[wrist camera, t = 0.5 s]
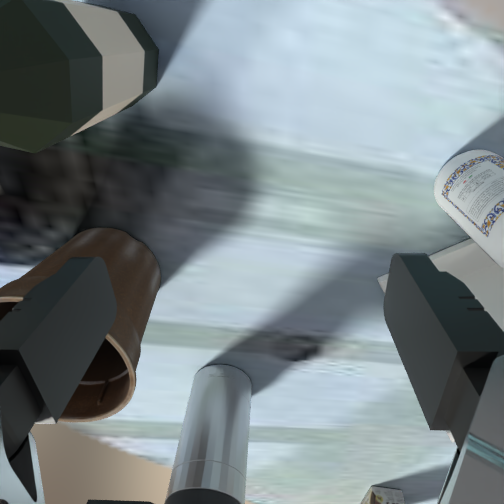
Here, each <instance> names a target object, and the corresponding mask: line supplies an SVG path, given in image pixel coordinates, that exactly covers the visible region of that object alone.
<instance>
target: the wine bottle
mask: <svg viewBox="0 0 504 504" xmlns="http://www.w3.org/2000/svg"><path fill="white" fill-rule="evenodd" d="M158 54H159V49H158V48H157V46H156V45H155V43H154V42H153V40H152V39H151V37H150V36H149V34H148V33H147V31H146V30H145V28H144V27H143V25H142V24H141V22H140V21H139V19H138V18H137V16H136V15H135V14H131V13H127V12H123V11H119V10H115V9H111V8H107V7H103V6H99V5H94V4H89V3H83V2H78V1H72V0H0V146H5V147H9V148H14V149H18V150H23V151H27V152H32V153H37V152H39V151H41V150H43V149H45V148H47V147H49V146H51V145H53V144H55V143H57V142H59V141H61V140H64V139H66V138H68V137H70V136H72V135H74V134H76V133H78V132H80V131H82V130H84V129H86V128H88V127H90V126H92V125H94V124H96V123H98V122H100V121H102V120H104V119H107V118H109V117H111V116H113V115H115V114H117V113H119V112H121V111H123V110H125V109H127V108H129V107H131V106H133V105H134V104H135V103H137V102H138V101H139V100H140V99H142V98H143V97H144V96H145V95H147V94H148V93H149V92H151V91H152V90H153V89H154V88H156V83H157V69H158Z"/></svg>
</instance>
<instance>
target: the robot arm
mask: <svg viewBox="0 0 504 504" xmlns="http://www.w3.org/2000/svg"><path fill="white" fill-rule="evenodd" d="M116 313H117V303H116V298H115V295H114V291H113V288H112V284H111V281H110V278H109V274H108V271H107V267H106V264H105V262H104V260H103V259H102V258H101V257H72V258H70V259H69V260H68V261H67V262H66V263H65V264H64V265H63V266H62V267H61V268H60V269H59V270H58V271H57V272H56V273H55V274H54V275H51V276H50V277H48V278H47V279H45V280H43V281H42V282H40V283H38V284H37V285H35V286H34V287H33V288H32V289H31V290H30V291H29V292H28V293H27V294H26V295H25V296H24V297H23V300H22V301H19V302H18V303H17V304H16V305H15V306H14V307H13V308H12V312H8V313H7V315H6V316H5V317H4V318H3V319H2V320H1V321H0V504H45V501H44V494H43V488H42V481H41V475H40V469H39V463H38V457H37V450H36V443H35V439H34V437H33V435H32V433H31V432H30V430H31V428H32V427H33V425H34V424H35V423H37V424H56V423H57V421H58V420H59V418H60V416H61V414H62V413H63V411H64V409H65V407H66V406H67V404H68V402H69V400H70V399H71V397H72V395H73V393H74V392H75V390H76V388H77V386H78V385H79V383H80V381H81V379H82V378H83V376H84V374H85V372H86V371H87V369H88V367H89V365H90V364H91V362H92V360H93V358H94V357H95V355H96V353H97V351H98V350H99V348H100V346H101V344H102V343H103V341H104V339H105V337H106V335H107V334H108V332H109V330H110V328H111V327H112V325H113V323H114V321H115V318H116ZM384 316H385V320H386V323H387V326H388V328H389V331H390V333H391V336H392V338H393V340H394V343H395V345H396V348H397V350H398V353H399V355H400V357H401V360H402V362H403V365H404V367H405V370H406V372H407V374H408V377H409V379H410V382H411V384H412V387H413V389H414V391H415V394H416V396H417V399H418V401H419V404H420V406H421V408H422V411H423V413H424V416H425V418H426V421H427V423H428V425H429V428H430V430H450V432H451V434H452V436H453V438H454V440H455V442H456V445H457V449H456V451H455V454H454V457H453V459H452V462H451V465H450V468H449V471H448V474H447V476H446V479H445V482H444V485H443V488H442V491H441V493H440V496H439V499H438V502H437V504H504V332H503V330H502V329H501V328H500V327H499V325H498V324H497V323H496V322H495V321H494V319H493V318H492V317H491V316H490V314H489V313H488V312H487V311H484V307H483V306H482V304H481V303H480V302H479V301H478V299H475V296H474V295H473V293H472V292H471V291H470V290H469V288H468V287H467V286H466V285H465V283H463V282H462V281H460V280H459V279H457V278H456V277H454V276H453V275H451V274H450V273H448V272H447V271H439V270H438V269H437V268H436V266H435V265H434V264H433V262H432V261H431V260H430V258H429V257H428V256H427V254H425V253H396V254H394V255H393V257H392V260H391V264H390V270H389V275H388V281H387V286H386V292H385V297H384ZM251 392H252V384H251V381H250V379H249V377H248V376H247V375H246V374H245V373H244V372H243V371H241V370H239V369H237V368H235V367H232V366H228V365H211V366H207V367H205V368H203V369H201V370H200V371H198V372H197V374H196V375H195V377H194V380H193V384H192V388H191V393H190V397H189V401H188V405H187V409H186V414H185V418H184V422H183V426H182V431H181V435H180V439H179V444H178V448H177V452H176V457H175V461H174V465H173V469H172V474H171V479H170V483H169V488H168V491H167V496H166V500H165V504H245V489H246V471H247V454H248V438H249V422H250V408H251ZM87 504H153V503H151V502H144V501H143V502H142V501H113V500H88V502H87Z"/></svg>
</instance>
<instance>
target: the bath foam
mask: <svg viewBox="0 0 504 504" xmlns="http://www.w3.org/2000/svg"><path fill="white" fill-rule="evenodd" d="M434 196H435V199H436V201H437V203H438V204H439V205H440V207H441V208H442V209H443V210H444V211H445V212H446V213H447V214H448V215H449V216H450V217H451V218H452V219H453V220H454V221H455V222H456V223H457V224H458V225H459V226H460V227H461V228H462V229H463V230H464V231H465V232H466V233H467V234H468V235H469V236H470V237H471V238H472V239H473V241H474V242H475V243H476V244H477V245H478V246H479V247H480V248H481V249H482V250H483V251H484V252H485V253H486V254H487V255H488V256H489V257H490V258H491V259H492V260H493V261H494V262H495V263H496V264H498V265H499V266H501V267H502V268H503V269H504V158H503V157H501V156H499V155H497V154H495V153H493V152H491V151H487V150H471V151H467V152H464V153H462V154H459V155H457V156H456V157H454V158H452V159H451V160H450V161H448V162H447V163H446V164H445V165H444V166H443V168H442V169H441V170H440V172H439V173H438V175H437V177H436V180H435V184H434Z"/></svg>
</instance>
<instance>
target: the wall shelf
mask: <svg viewBox="0 0 504 504" xmlns="http://www.w3.org/2000/svg"><path fill="white" fill-rule="evenodd" d="M428 257H429V258H430V260H431V261H432V262H433V264H434V265H435V266H436V268H437V269H438V270H439V271H447V272H448V273H450V274H451V275H453V276H454V277H456V278H457V279H459V280H460V281H462V282H463V283H465V285H466V286H467V287H468V288H469V290H470V291H471V292H472V293H473V295H474V296H475V299H478V301H479V302H480V303H481V304H482V306H483V307H484V311H487V312H488V313H489V314H490V316H491V317H492V318H493V319H494V321H495V322H496V323H497V324H498V325H499V327H500V328H501V329H502V330H503V332H504V269H503V268H502V267H501V266H499V265H498V264H496V263H495V262H494V261H493V260H492V259H491V258H490V257H489V256H488V255H487V254H486V253H485V252H484V251H483V250H482V249H481V248H480V247H479V246H478V245H477V244H476V243H475V242H474V241H473V239H472V238H470V239H468V240H465V241H463V242H461V243H458V244H456V245H454V246H451V247H449V248H447V249H444V250H442V251H440V252H437V253H435V254H432V255H430V256H428ZM388 275H389V273H388V274H385V275H383V276H381V277H378V278H377V279H378V282H379V284H380V286H381V288H382V289H383V291H384V293H385V292H386V286H387V281H388ZM446 432H447V434H448V436H449V438H450V439H451V441H452V442H455V440H454V438H453V436H452V434H451V432H450V430H446Z"/></svg>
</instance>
